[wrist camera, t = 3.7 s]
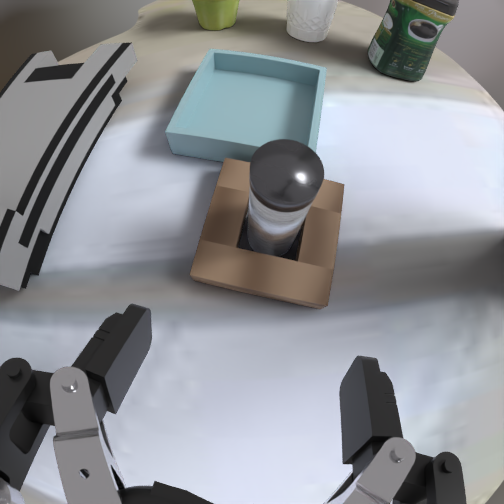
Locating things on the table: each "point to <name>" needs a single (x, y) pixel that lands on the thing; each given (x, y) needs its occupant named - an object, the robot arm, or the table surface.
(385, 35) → the coffee jar
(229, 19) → the plant pot
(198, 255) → the brown square frame
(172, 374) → the table surface
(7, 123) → the game console
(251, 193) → the bottle with dark cap
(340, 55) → the table surface
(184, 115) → the parts tray
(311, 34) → the white cup
